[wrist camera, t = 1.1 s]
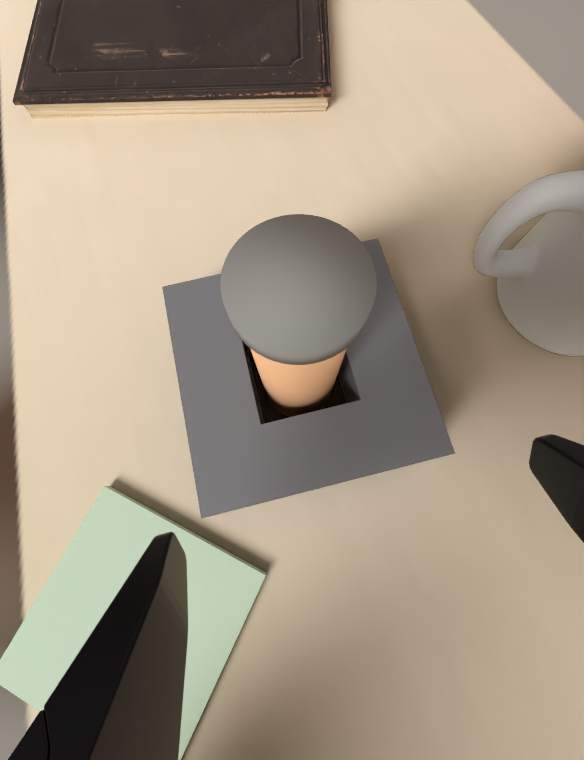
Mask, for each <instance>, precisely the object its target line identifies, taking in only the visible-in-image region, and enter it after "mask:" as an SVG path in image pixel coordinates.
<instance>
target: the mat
mask: <svg viewBox="0 0 584 760" xmlns="http://www.w3.org/2000/svg"><path fill="white" fill-rule="evenodd" d="M167 532H173V533H175V535H176V537H177V539H178V540H179V542H180V544H181V546H182V548H183V550H184V552H185V555H186V560H187V593H188V642H187V655H186V668H185V680H184V693H183V705H182V718H181V730H180V743H179V756H178V760H181V758H182V756H183V754H184V751H185V749H186V747H187V745H188V743H189V741H190V738H191V736H192V734H193V732H194V730H195V728H196V725H197V723H198V721H199V719H200V717H201V715H202V713H203V710H204V708H205V706H206V704H207V702H208V700H209V697H210V695H211V693H212V691H213V689H214V687H215V684H216V682H217V680H218V678H219V676H220V674H221V671H222V669H223V667H224V665H225V663H226V661H227V658H228V656H229V654H230V652H231V650H232V648H233V646H234V643H235V641H236V639H237V637H238V635H239V633H240V630H241V628H242V626H243V624H244V622H245V620H246V617H247V615H248V613H249V611H250V609H251V607H252V604H253V602H254V600H255V598H256V596H257V594H258V592H259V589H260V587H261V585H262V583H263V581H264V579H265V576H266V574H267V573H266V572H264V571H262V570H261V569H259V568H257V567H255V566H253V565H252V564H250V563H248V562H246V561H244V560H243V559H241V558H239V557H237V556H235V555H233V554H232V553H230V552H228V551H226V550H224V549H223V548H221V547H219V546H217V545H215V544H214V543H212V542H210V541H208V540H206V539H205V538H203V537H201V536H199V535H197V534H195V533H194V532H192V531H190V530H188V529H186V528H185V527H183V526H181V525H179V524H177V523H176V522H174V521H172V520H170V519H168V518H166V517H165V516H163V515H161V514H159V513H157V512H156V511H154V510H152V509H150V508H148V507H147V506H145V505H143V504H141V503H139V502H137V501H136V500H134V499H132V498H130V497H128V496H127V495H125V494H123V493H121V492H119V491H118V490H116V489H114V488H112V487H110V486H104V488H103V490H102V491H101V493H100V495H99V496H98V498H97V500H96V501H95V503H94V505H93V506H92V508H91V510H90V511H89V513H88V515H87V516H86V518H85V520H84V521H83V523H82V525H81V526H80V528H79V530H78V531H77V533H76V535H75V536H74V538H73V540H72V541H71V543H70V545H69V546H68V548H67V550H66V551H65V553H64V555H63V556H62V558H61V560H60V561H59V563H58V565H57V566H56V568H55V570H54V571H53V573H52V575H51V576H50V578H49V580H48V581H47V583H46V585H45V586H44V588H43V590H42V591H41V593H40V595H39V596H38V598H37V600H36V601H35V603H34V605H33V606H32V608H31V610H30V611H29V613H28V615H27V616H26V618H25V620H24V621H23V623H22V625H21V626H20V628H19V630H18V631H17V633H16V635H15V636H14V638H13V640H12V641H11V643H10V645H9V647H8V648H7V650H6V651H5V653H4V655H3V656H2V658H1V660H0V685H1V686H3V687H4V688H6V689H7V690H9V691H10V692H12V693H13V694H15V695H16V696H17V697H19V698H20V699H22V700H23V701H25V702H26V703H28V704H29V705H31V706H32V707H34V708H35V709H37V710H38V711H41V710H44V705H45V703H46V702H47V700H48V699H49V697H50V696H51V694H52V693H53V691H54V689H55V688H56V686H57V685H58V683H59V682H60V680H61V679H62V677H63V676H64V674H65V673H66V671H67V670H68V668H69V667H70V665H71V663H72V662H73V660H74V659H75V657H76V656H77V654H78V653H79V651H80V650H81V648H82V647H83V645H84V644H85V642H86V641H87V639H88V637H89V636H90V634H91V633H92V631H93V630H94V628H95V627H96V625H97V624H98V622H99V621H100V619H101V618H102V616H103V615H104V613H105V611H106V610H107V608H108V607H109V605H110V604H111V602H112V601H113V599H114V598H115V596H116V595H117V593H118V592H119V590H120V589H121V587H122V585H123V584H124V582H125V581H126V579H127V578H128V576H129V575H130V573H131V572H132V570H133V569H134V567H135V566H136V564H137V563H138V561H139V559H140V558H141V556H142V555H143V553H144V552H145V550H146V549H147V547H148V546H149V544H150V543H151V541H152V540H153V538H154V537H155V536H157V535H160V534H163V533H167Z"/></svg>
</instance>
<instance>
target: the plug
mask: <svg viewBox="0 0 584 760" xmlns="http://www.w3.org/2000/svg"><path fill="white" fill-rule="evenodd" d="M220 287H221V296H222V300H223V304H224V306H225V309H226V311H227V314H228V316H229V319H230V321H231V323H232V326H233V328H234V329H235V331H236V333H237V335H238V336H239V337H240V338H241V340H242V341H243V342H244V343H245V344H246V345H247V346H248V347H249V348H250V349H251V352H252V355H253V358H254V360H255V363H256V366H257V369H258V372H259V374H260V377H261V380H262V383H263V386H264V389H265V391H266V394H267V397H268V399H269V401H270V403H271V404H272V405H273V407H274V408H275V409H276V410H278V411H279V412H280V413H282V414H284V415H286V416H290V417H293V416H297V415H301V414H305V413H309V412H313V411H318V410H321V409H322V408H323V407H324V406H325V404H326V403H327V401H328V399H329V397H330V394H331V391H332V389H333V386H334V383H335V380H336V377H337V374H338V372H339V369H340V366H341V363H342V360H343V357H344V355H345V352H346V349H347V347H349V346H350V345H351V344H352V343H353V342H354V341H355V339H356V338H357V337H358V336H359V334H360V333H361V331H362V329H363V328H364V326H365V324H366V321H367V319H368V316H369V314H370V311H371V309H372V306H373V304H374V301H375V296H376V289H377V278H376V271H375V267H374V264H373V261H372V258H371V256H370V254H369V253H368V251H367V249H366V248H365V246H364V245H363V244H362V242H361V241H360V240H359V239H358V238H357V237H356V236H355V235H354V234H353V233H351V232H350V231H349V230H348V229H346V228H344V227H343V226H341V225H340V224H338V223H335V222H333V221H331V220H328V219H325V218H322V217H318V216H313V215H304V214H295V215H285V216H280V217H276V218H273V219H270V220H267V221H265V222H263V223H260V224H258V225H257V226H255V227H253V228H252V229H250V230H249V231H248V232H246V233H245V234H244V235H243V236H242V237H241V238H240V239H239V240H238V241H237V242H236V243H235V245H234V246H233V247H232V249H231V250H230V252H229V254H228V256H227V258H226V260H225V263H224V265H223V269H222V273H221V283H220Z"/></svg>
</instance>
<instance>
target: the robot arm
mask: <svg viewBox="0 0 584 760" xmlns="http://www.w3.org/2000/svg"><path fill="white" fill-rule="evenodd" d="M529 465H530V469H531V471H532V473H533V474H534V476H535V477H536V478H537V480H538V481H539V483H540V484H541V486H542V487H543V488H544V490H545V491H546V493H547V494H548V496H549V497H550V499H551V500H552V501H553V503H554V504H555V506H556V507H557V509H558V510H559V511H560V513H561V514H562V516H563V517H564V519H565V520H566V521H567V523H568V524H569V525H570V527H571V528H572V529H573V530H574V532H575V533H576V534H577V535H578V537H579V538H580V539H581V540H582V541H583V542H584V445H581V444H579V443H576V442H573V441H570V440H567V439H565V438H562V437H559V436H556V435H552V434H551V435H545V436H541V437H537V438H535V440H534V441H533V444H532V449H531V455H530V460H529ZM187 642H188V593H187V560H186V555H185V552H184V550H183V548H182V546H181V544H180V542H179V540H178V539H177V537H176V535H175V533H173V532H167V533H163V534H160V535H157V536H155V537H154V538H153V540H152V541H151V543H150V544H149V546H148V547H147V549H146V550H145V552H144V553H143V555H142V556H141V558H140V559H139V561H138V563H137V564H136V566H135V567H134V569H133V570H132V572H131V573H130V575H129V576H128V578H127V579H126V581H125V582H124V584H123V585H122V587H121V589H120V590H119V592H118V593H117V595H116V596H115V598H114V599H113V601H112V602H111V604H110V605H109V607H108V608H107V610H106V611H105V613H104V615H103V616H102V618H101V619H100V621H99V622H98V624H97V625H96V627H95V628H94V630H93V631H92V633H91V634H90V636H89V637H88V639H87V641H86V642H85V644H84V645H83V647H82V648H81V650H80V651H79V653H78V654H77V656H76V657H75V659H74V660H73V662H72V663H71V665H70V667H69V668H68V670H67V671H66V673H65V674H64V676H63V677H62V679H61V680H60V682H59V683H58V685H57V686H56V688H55V689H54V691H53V693H52V694H51V696H50V697H49V699H48V700H47V702H46V703H45V705H44V710H41V711H40V712H39V714H38V715H37V717H36V718H35V720H34V721H33V723H32V724H31V726H30V727H29V729H28V730H27V732H26V734H25V735H24V737H23V738H22V739H21V741H20V742H19V744H18V745H17V747H16V748H15V750H14V752H13V753H12V754H11V756H10V757H9V759H8V760H178V756H179V743H180V730H181V718H182V705H183V693H184V680H185V668H186V655H187Z"/></svg>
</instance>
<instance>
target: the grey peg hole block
mask: <svg viewBox="0 0 584 760" xmlns="http://www.w3.org/2000/svg"><path fill="white" fill-rule="evenodd" d="M362 244H363V245H364V246H365V248H366V249H367V251H368V253H369V254H370V256H371V258H372V261H373V264H374V267H375V271H376V278H377V289H376V296H375V301H374V304H373V306H372V309H371V311H370V314H369V316H368V319H367V321H366V324H365V326H364V328H363V329H362V331H361V333H360V334H359V336H358V337H357V338H356V339H355V341H354V342H353V343H352V344H351V345H350V346H349V347H347V349H346V352H345V355H344V357H343V360H342V363H341V366H340V369H339V372H338V375H339V379H340V382H341V386H342V389H343V393H344V396H345V399H346V404H342V405H338V406H334V407H330V408H326V409H322V410H318V411H313V412H309V413H305V414H301V415H297V416H293V417H289V418H285V419H281V420H277V421H273V422H269V423H264V419H263V414H262V410H261V405H260V401H259V397H258V392H257V388H256V383H255V379H254V375H253V370H252V366H251V361H250V357H249V356H253V355H252V352H251V349H250V348H249V347H248V346H247V345H246V344H245V343H244V342H243V341H242V340H241V338H240V337H239V336H238V335H237V333H236V331H235V329H234V328H233V326H232V323H231V321H230V319H229V316H228V314H227V311H226V309H225V306H224V304H223V300H222V296H221V287H220V283H221V274H217V275H213V276H209V277H204V278H200V279H195V280H191V281H186V282H182V283H177V284H173V285H168V286H164V287H163V293H164V299H165V305H166V311H167V317H168V323H169V329H170V335H171V341H172V347H173V353H174V358H175V364H176V370H177V376H178V382H179V388H180V394H181V400H182V406H183V412H184V418H185V424H186V430H187V436H188V442H189V447H190V453H191V459H192V465H193V471H194V477H195V483H196V489H197V495H198V501H199V507H200V513H201V518H205V517H209V516H213V515H217V514H220V513H224V512H228V511H232V510H236V509H240V508H244V507H248V506H252V505H256V504H259V503H263V502H267V501H271V500H275V499H279V498H283V497H287V496H291V495H295V494H298V493H302V492H306V491H310V490H314V489H318V488H322V487H326V486H330V485H333V484H337V483H341V482H345V481H349V480H353V479H357V478H361V477H365V476H369V475H372V474H376V473H380V472H384V471H388V470H392V469H396V468H400V467H404V466H408V465H411V464H415V463H419V462H423V461H427V460H431V459H435V458H439V457H443V456H447V455H450V454H454V453H455V452H454V449H453V447H452V444H451V441H450V438H449V436H448V433H447V430H446V427H445V424H444V422H443V419H442V416H441V413H440V410H439V408H438V405H437V402H436V399H435V397H434V394H433V391H432V388H431V385H430V383H429V380H428V377H427V374H426V372H425V369H424V366H423V363H422V360H421V358H420V355H419V352H418V349H417V347H416V344H415V341H414V338H413V335H412V333H411V330H410V327H409V324H408V322H407V319H406V316H405V313H404V310H403V308H402V305H401V302H400V299H399V297H398V294H397V291H396V288H395V285H394V283H393V280H392V277H391V274H390V271H389V269H388V266H387V263H386V260H385V258H384V255H383V252H382V249H381V246H380V244H379V241H378V239H373V240H369V241H364V242H362Z"/></svg>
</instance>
